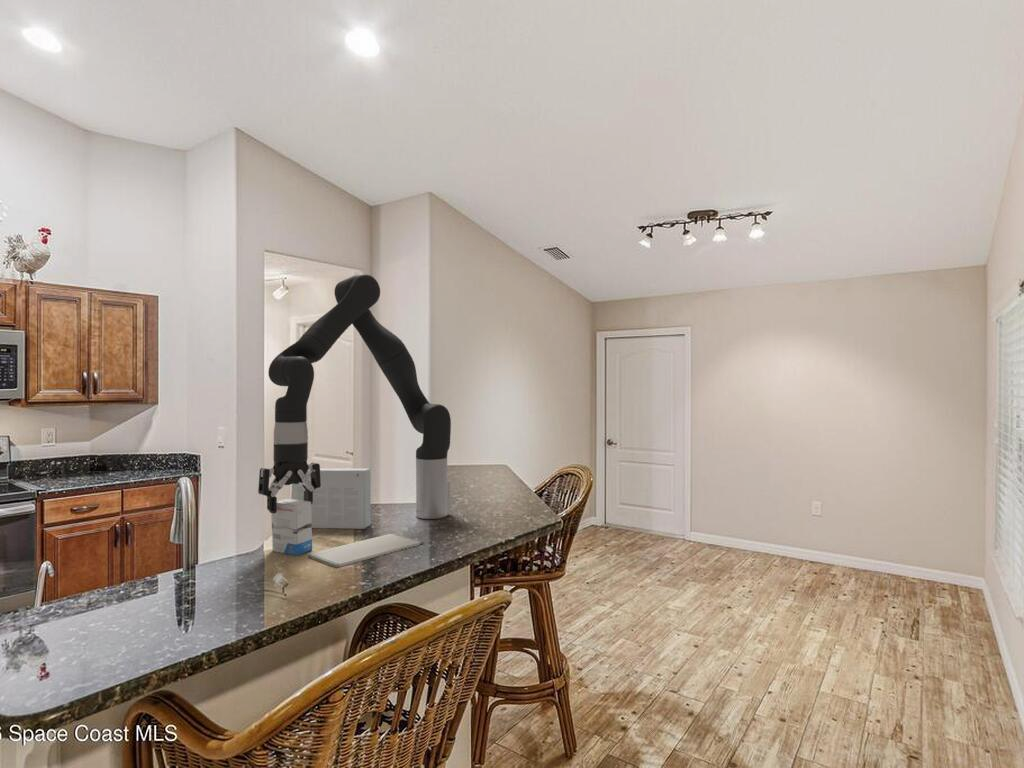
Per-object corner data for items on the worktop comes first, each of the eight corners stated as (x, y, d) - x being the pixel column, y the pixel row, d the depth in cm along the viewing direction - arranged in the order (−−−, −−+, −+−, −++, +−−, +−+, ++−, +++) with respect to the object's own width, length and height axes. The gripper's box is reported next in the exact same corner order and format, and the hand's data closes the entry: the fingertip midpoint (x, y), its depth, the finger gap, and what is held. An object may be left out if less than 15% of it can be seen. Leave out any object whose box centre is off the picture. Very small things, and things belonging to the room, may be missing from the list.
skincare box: (371, 524, 161) (371, 467, 161) (365, 529, 156) (364, 470, 156) (299, 523, 163) (299, 467, 163) (290, 528, 158) (290, 470, 158)
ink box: (313, 550, 136) (313, 501, 136) (296, 556, 132) (295, 505, 132) (287, 546, 140) (287, 497, 140) (270, 551, 136) (270, 501, 136)
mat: (392, 535, 149) (392, 533, 149) (423, 543, 142) (422, 541, 142) (307, 556, 131) (307, 553, 131) (336, 567, 124) (336, 564, 124)
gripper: (310, 438, 144) (310, 503, 144) (253, 442, 133) (253, 512, 133) (326, 440, 139) (326, 507, 139) (268, 444, 128) (268, 517, 128)
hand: (290, 509), depth 136 cm, fingers open, 8 cm apart
